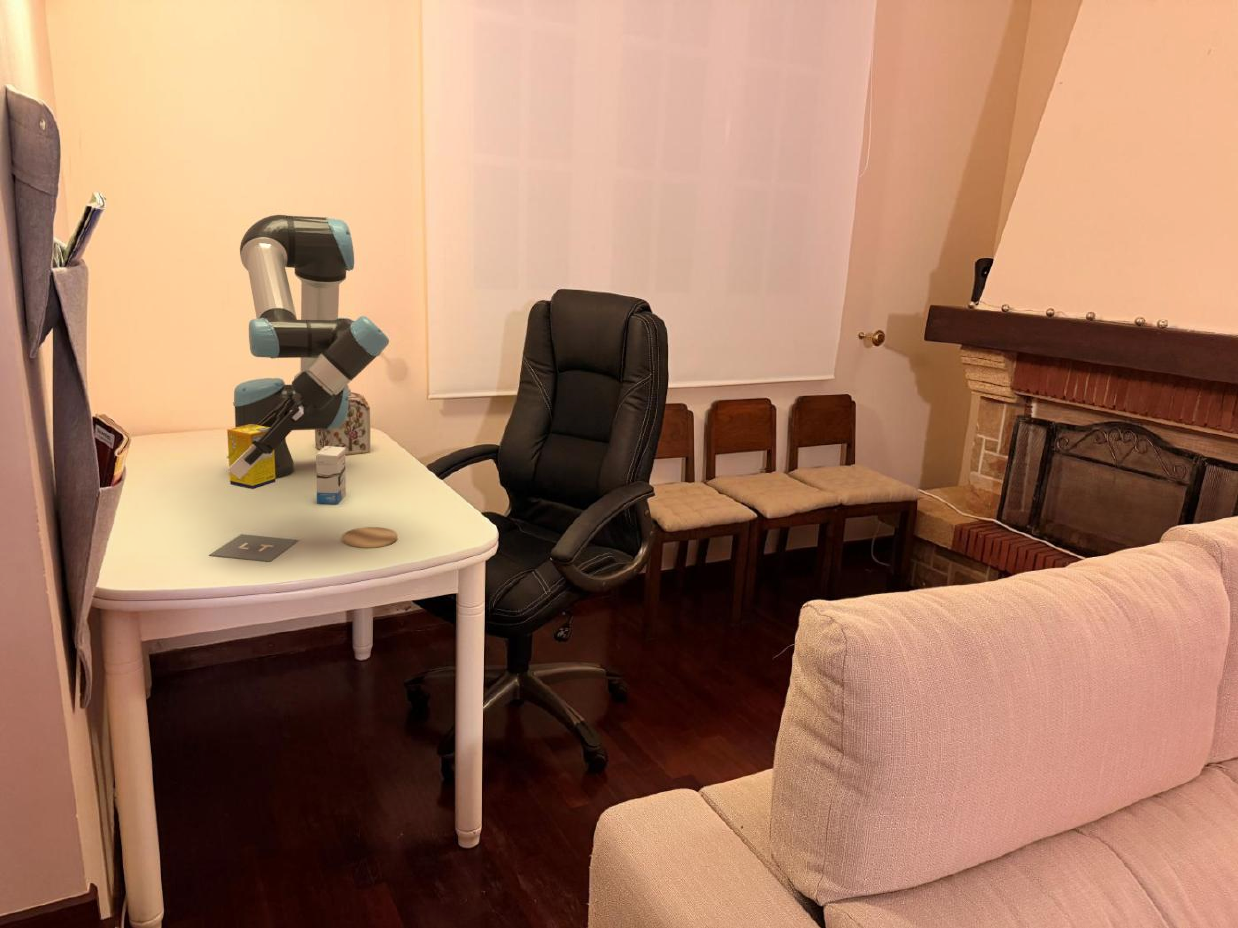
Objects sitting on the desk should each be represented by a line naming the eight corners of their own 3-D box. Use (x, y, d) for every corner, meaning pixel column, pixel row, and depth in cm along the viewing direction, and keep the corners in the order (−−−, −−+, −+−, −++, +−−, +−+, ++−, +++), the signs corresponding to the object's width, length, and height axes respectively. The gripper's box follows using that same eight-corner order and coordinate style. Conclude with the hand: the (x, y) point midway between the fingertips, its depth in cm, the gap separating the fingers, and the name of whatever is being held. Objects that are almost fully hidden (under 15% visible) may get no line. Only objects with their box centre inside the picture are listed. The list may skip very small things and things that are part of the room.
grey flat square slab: (241, 535, 176) (241, 533, 176) (298, 540, 175) (298, 539, 175) (209, 555, 164) (209, 554, 164) (270, 561, 163) (270, 560, 163)
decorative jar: (314, 448, 245) (313, 385, 241) (353, 443, 253) (352, 383, 248) (331, 457, 237) (330, 393, 232) (371, 453, 244) (371, 390, 240)
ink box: (338, 505, 198) (337, 455, 195) (315, 504, 198) (314, 454, 195) (346, 494, 206) (346, 446, 203) (325, 493, 206) (324, 445, 203)
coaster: (354, 527, 184) (354, 524, 184) (404, 532, 184) (404, 529, 183) (333, 545, 174) (333, 542, 174) (386, 550, 173) (386, 547, 173)
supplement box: (252, 477, 170) (250, 423, 167) (276, 482, 168) (274, 427, 165) (228, 484, 165) (226, 428, 162) (253, 490, 162) (250, 433, 160)
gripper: (342, 407, 159) (251, 496, 157) (328, 386, 177) (246, 465, 175) (311, 379, 156) (217, 469, 153) (300, 361, 174) (216, 441, 171)
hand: (233, 467), depth 164 cm, fingers closed on supplement box, 8 cm apart
